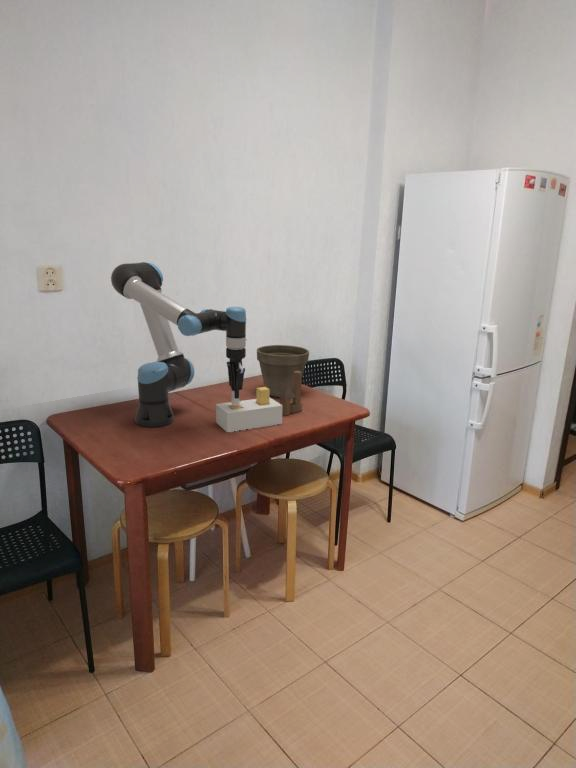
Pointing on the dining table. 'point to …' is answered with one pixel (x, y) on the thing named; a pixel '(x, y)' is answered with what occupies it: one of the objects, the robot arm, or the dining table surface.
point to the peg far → (262, 396)
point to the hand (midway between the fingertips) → (235, 405)
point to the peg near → (235, 407)
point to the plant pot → (280, 365)
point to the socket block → (248, 415)
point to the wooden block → (291, 395)
